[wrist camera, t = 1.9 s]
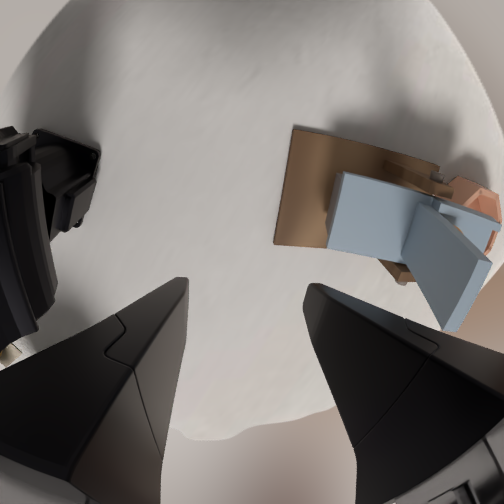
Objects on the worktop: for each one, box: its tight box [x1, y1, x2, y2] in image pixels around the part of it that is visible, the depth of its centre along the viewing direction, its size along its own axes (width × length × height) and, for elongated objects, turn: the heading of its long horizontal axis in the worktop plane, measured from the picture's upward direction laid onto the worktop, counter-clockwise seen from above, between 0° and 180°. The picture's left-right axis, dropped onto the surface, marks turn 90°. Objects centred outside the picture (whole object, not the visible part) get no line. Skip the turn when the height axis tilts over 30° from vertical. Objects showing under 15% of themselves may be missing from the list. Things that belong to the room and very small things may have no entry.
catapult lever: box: [325, 171, 502, 332], centre depth 15 cm, size 13×5×11 cm, turn 82°
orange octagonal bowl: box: [435, 176, 502, 256], centre depth 23 cm, size 8×8×3 cm
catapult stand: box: [273, 129, 455, 286], centre depth 20 cm, size 14×9×6 cm, turn 83°
